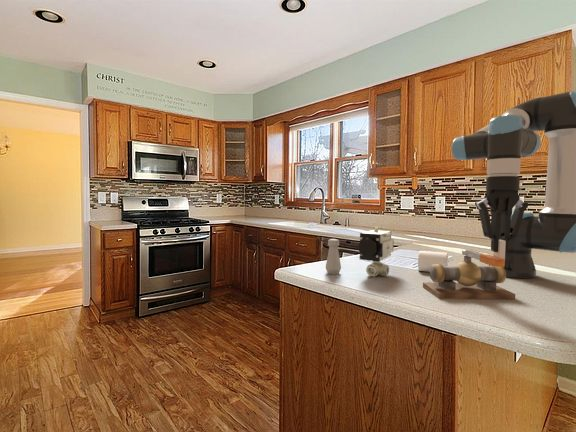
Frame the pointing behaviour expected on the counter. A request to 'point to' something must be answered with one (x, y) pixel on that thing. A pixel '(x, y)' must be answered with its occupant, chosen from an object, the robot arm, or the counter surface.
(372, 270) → the ball valve
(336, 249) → the salt shaker
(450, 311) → the counter surface
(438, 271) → the valve mount
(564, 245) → the robot arm
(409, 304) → the counter surface
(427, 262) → the white rectangular block
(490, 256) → the lever
